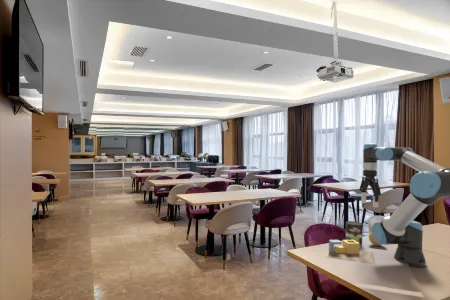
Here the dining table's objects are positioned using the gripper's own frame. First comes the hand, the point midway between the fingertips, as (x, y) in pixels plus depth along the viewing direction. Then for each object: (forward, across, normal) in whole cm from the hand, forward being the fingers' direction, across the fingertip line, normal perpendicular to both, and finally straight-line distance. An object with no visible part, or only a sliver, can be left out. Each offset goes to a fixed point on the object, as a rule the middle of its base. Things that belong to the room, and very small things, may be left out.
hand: (369, 205), depth 185 cm
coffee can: (+29, +16, +1) cm, 33 cm away
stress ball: (+29, +14, -13) cm, 35 cm away
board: (+29, -8, +15) cm, 33 cm away
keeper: (+27, -2, +22) cm, 35 cm away
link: (+27, -2, +15) cm, 31 cm away
